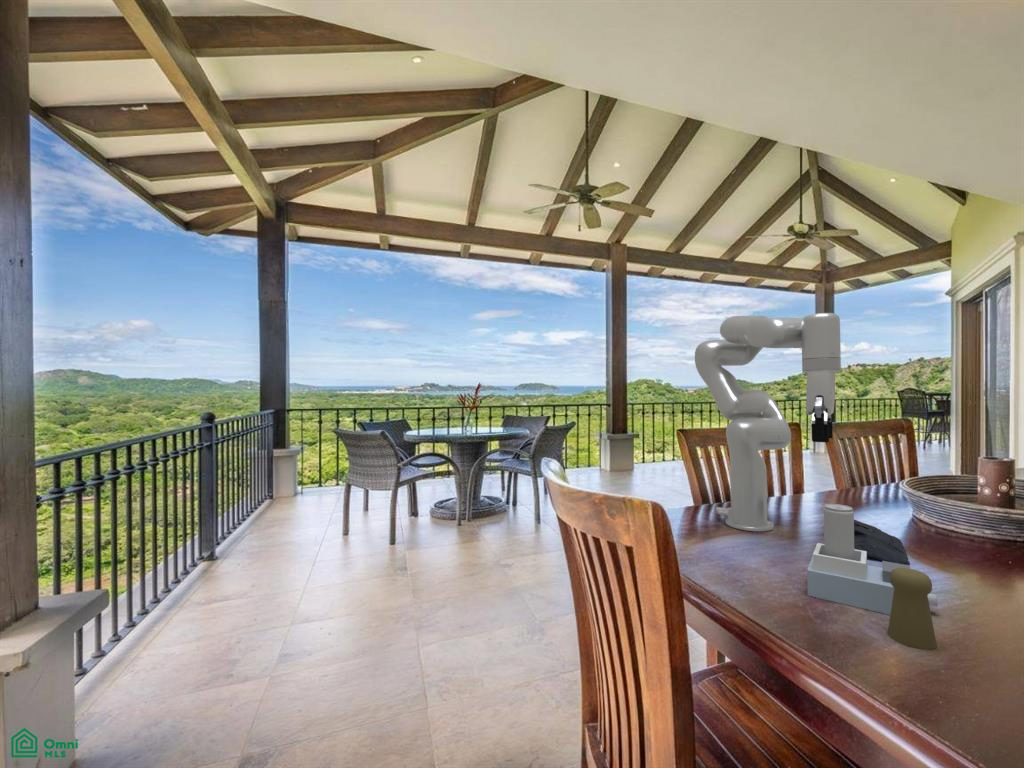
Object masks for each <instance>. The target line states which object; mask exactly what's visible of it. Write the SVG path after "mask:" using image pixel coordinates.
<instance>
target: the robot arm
mask: <svg viewBox="0 0 1024 768" xmlns="http://www.w3.org/2000/svg"><path fill="white" fill-rule="evenodd" d="M719 327H720V328H719V334H720V335H721V338H722V339H711V340H705V341H703V342H700V343H699V344H698V345H697V346H696V348H695V351H694V363H695V368H696V370H697V372H698V375H699V376H700V378H701V379H702V381H703V382H704V383H705V385H706V386H707V388H708V389H709V391H710V394H711V396H712V398H713V400H714V403H715V405H716V406H717V408H718V411H719V412H720V414H721V417H723V418H724V419H726V420H728V421H729V423H728V424H727V426H726V430H725V436H726V441H727V442H726V443H727V446H728V447H727V448H728V452H729V465H730V466H729V467H730V469H729V470H730V471H729V474H730V475H729V477H730V479H729V481H730V507H727V508H725V507H720V506H716V507H715V513H716V514H718V515H720V516H726V518H725V519H724V520H725V521H724V522H725V524H726V526H729V527H730V528H733V529H738V530H741V531H742V530H743V531H748V532H769V531H772V530H774V527H775V526H774V525H775V524H774V523H773V522H772V521H770V520H768V487H767V486H768V483H767V482H768V479H767V478H768V474H767V465H766V463H765V460H764V458H763V457H762V456H761V454H760V452H759V451H771V450H773V451H775V450H782V449H785V448H787V447H788V446H789V444H790V443H791V439H792V432H791V428H790V426H789V423H788V422H787V420H786V418H785V416H784V414H783V413H782V411H781V410H780V408H779V406H778V404H777V402H776V401H775V399H774V398H773V396H772V395H771V394H770V393H769V392H767V391H765V390H762V389H745V388H742V387H741V385H740V384H739V382H738V380H737V378H736V376H734V374H732V373H731V372H730V371H729V370H728V369H726V368H725V367H726V366H727V367H729V366H730V367H731V366H734V367H737V366H739V367H741V366H746V365H749V364H750V363H751V362H752V361H753V360H754V359H755V358H756V357H757V355H759V353H760V352H761V351H762V349H763V348H767V349H801V359H802V360H801V367H802V368H801V371H802V372H801V373H802V374H806V388H805V390H806V392H805V395H806V396H805V401H806V402H805V414H806V415H808V416H811V415H812V419H811V420H812V423H811V441H812V442H814V443H829V441H830V439H833V435H834V434H833V421H832V414H834V413H835V411H834V409H835V401H836V400H835V399H836V397H835V396H836V382H835V381H836V379H835V378H836V376H835V374H836V373H841V372H842V360H841V359H842V358H841V357H842V354H841V318H840V316H839V315H838V314H836V313H834V312H819V313H811V314H808V315H805V316H804V317H768V316H765V315H734V316H730V317H728V318H725V320H724V321H723V322H722V323H721V325H720V326H719ZM723 366H724V367H723Z"/></svg>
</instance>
